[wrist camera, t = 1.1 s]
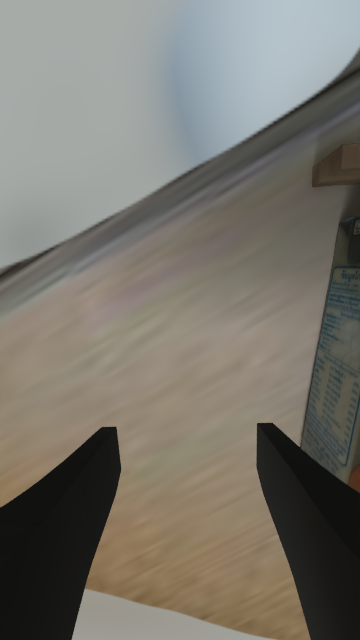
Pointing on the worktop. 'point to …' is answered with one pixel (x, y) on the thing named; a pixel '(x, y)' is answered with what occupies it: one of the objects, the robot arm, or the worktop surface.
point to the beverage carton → (338, 367)
